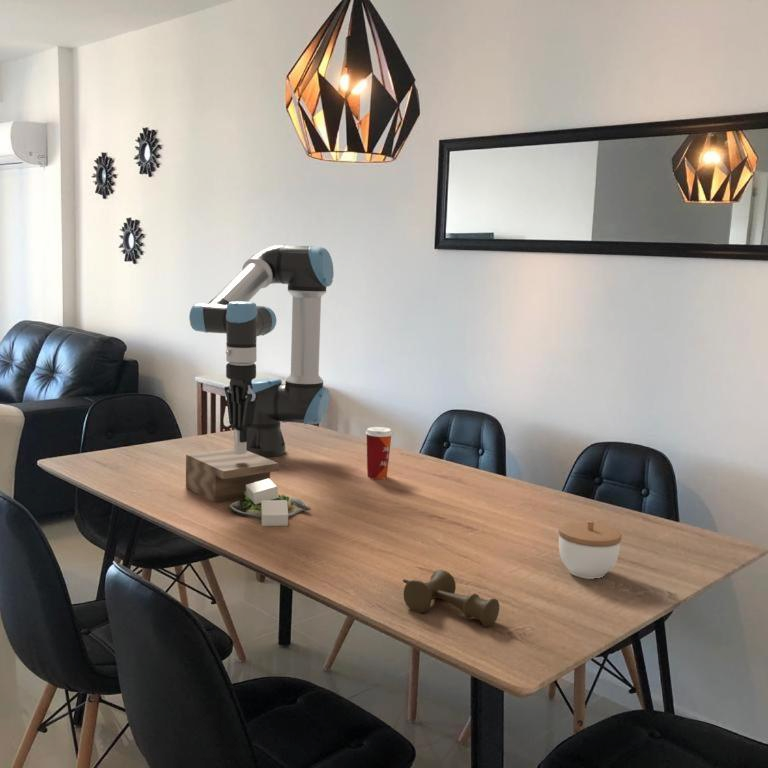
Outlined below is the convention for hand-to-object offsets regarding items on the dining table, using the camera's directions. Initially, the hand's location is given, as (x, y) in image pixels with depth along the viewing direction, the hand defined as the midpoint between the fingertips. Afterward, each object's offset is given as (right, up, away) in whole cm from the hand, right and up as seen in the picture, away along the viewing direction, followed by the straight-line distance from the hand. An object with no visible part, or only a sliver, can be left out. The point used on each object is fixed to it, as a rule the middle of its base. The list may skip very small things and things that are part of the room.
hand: (240, 453), depth 217 cm
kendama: (+48, -24, -63) cm, 83 cm away
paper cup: (+35, -9, +26) cm, 44 cm away
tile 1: (+7, -7, -11) cm, 15 cm away
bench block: (-3, -10, +4) cm, 12 cm away
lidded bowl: (+79, -21, -42) cm, 92 cm away
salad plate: (+8, -14, -8) cm, 18 cm away
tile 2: (+11, -14, -18) cm, 26 cm away
